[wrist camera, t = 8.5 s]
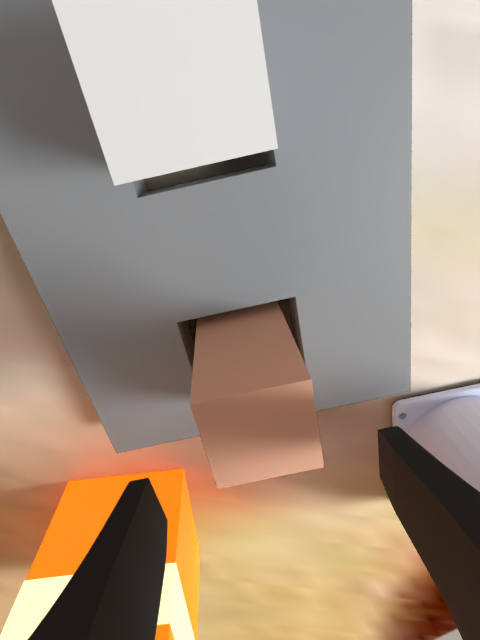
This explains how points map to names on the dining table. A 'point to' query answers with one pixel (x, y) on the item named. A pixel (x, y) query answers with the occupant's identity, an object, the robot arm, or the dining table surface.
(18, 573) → the dining table surface
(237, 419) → the peg
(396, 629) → the dining table surface
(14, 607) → the orange juice
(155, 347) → the socket board
